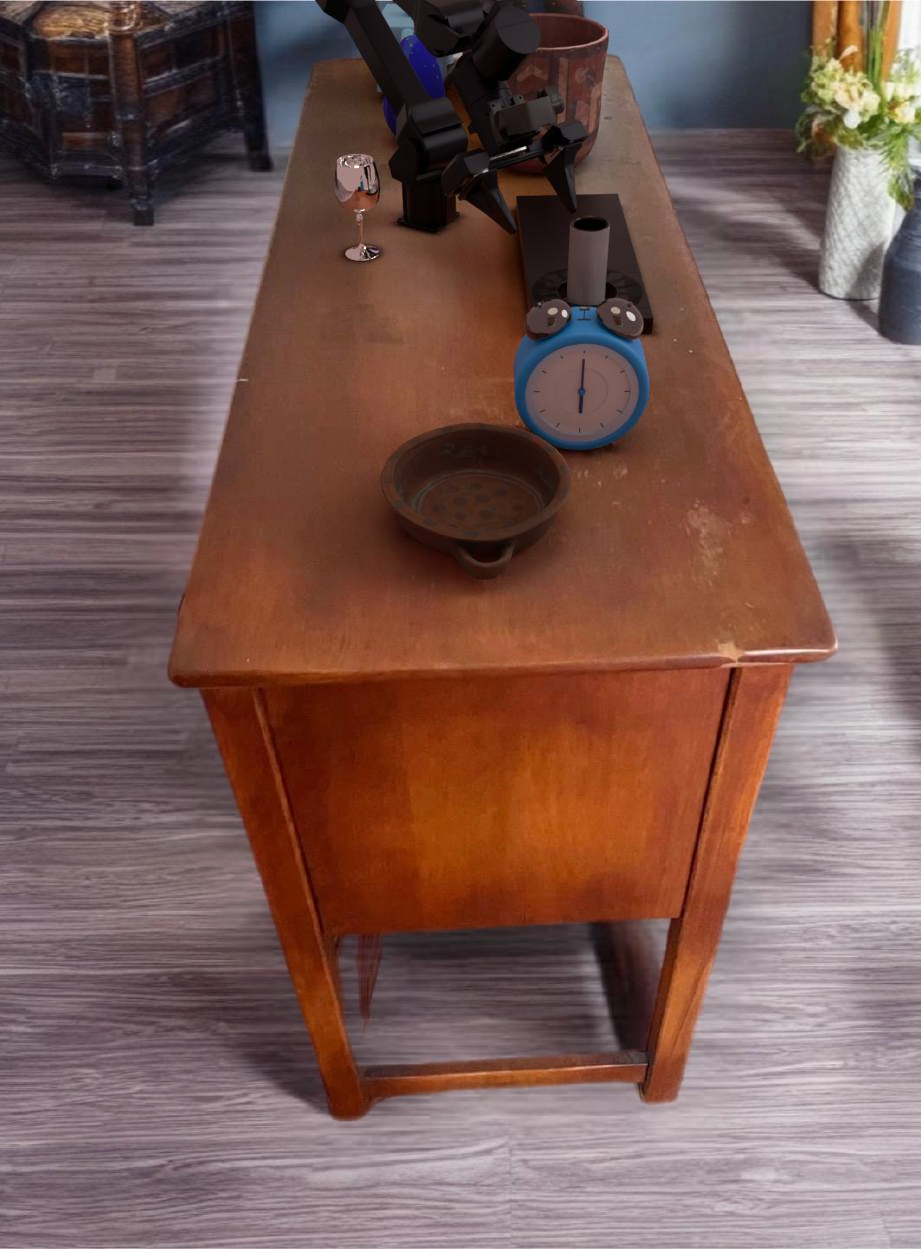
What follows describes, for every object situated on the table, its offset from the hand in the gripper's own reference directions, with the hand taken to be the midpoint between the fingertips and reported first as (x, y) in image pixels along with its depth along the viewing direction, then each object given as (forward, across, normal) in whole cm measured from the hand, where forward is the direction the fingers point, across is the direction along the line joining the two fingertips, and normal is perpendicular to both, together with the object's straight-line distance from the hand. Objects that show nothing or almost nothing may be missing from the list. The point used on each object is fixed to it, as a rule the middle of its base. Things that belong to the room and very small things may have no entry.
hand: (544, 223), depth 143 cm
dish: (+29, -36, -19) cm, 50 cm away
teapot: (-43, +29, +56) cm, 77 cm away
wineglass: (-9, -13, +20) cm, 26 cm away
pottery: (-16, +25, +29) cm, 42 cm away
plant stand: (+5, +6, +6) cm, 10 cm away
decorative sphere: (-29, +37, +42) cm, 63 cm away
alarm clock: (+26, -19, -16) cm, 36 cm away
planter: (+11, 0, 0) cm, 11 cm away
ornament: (-29, +15, +42) cm, 53 cm away
